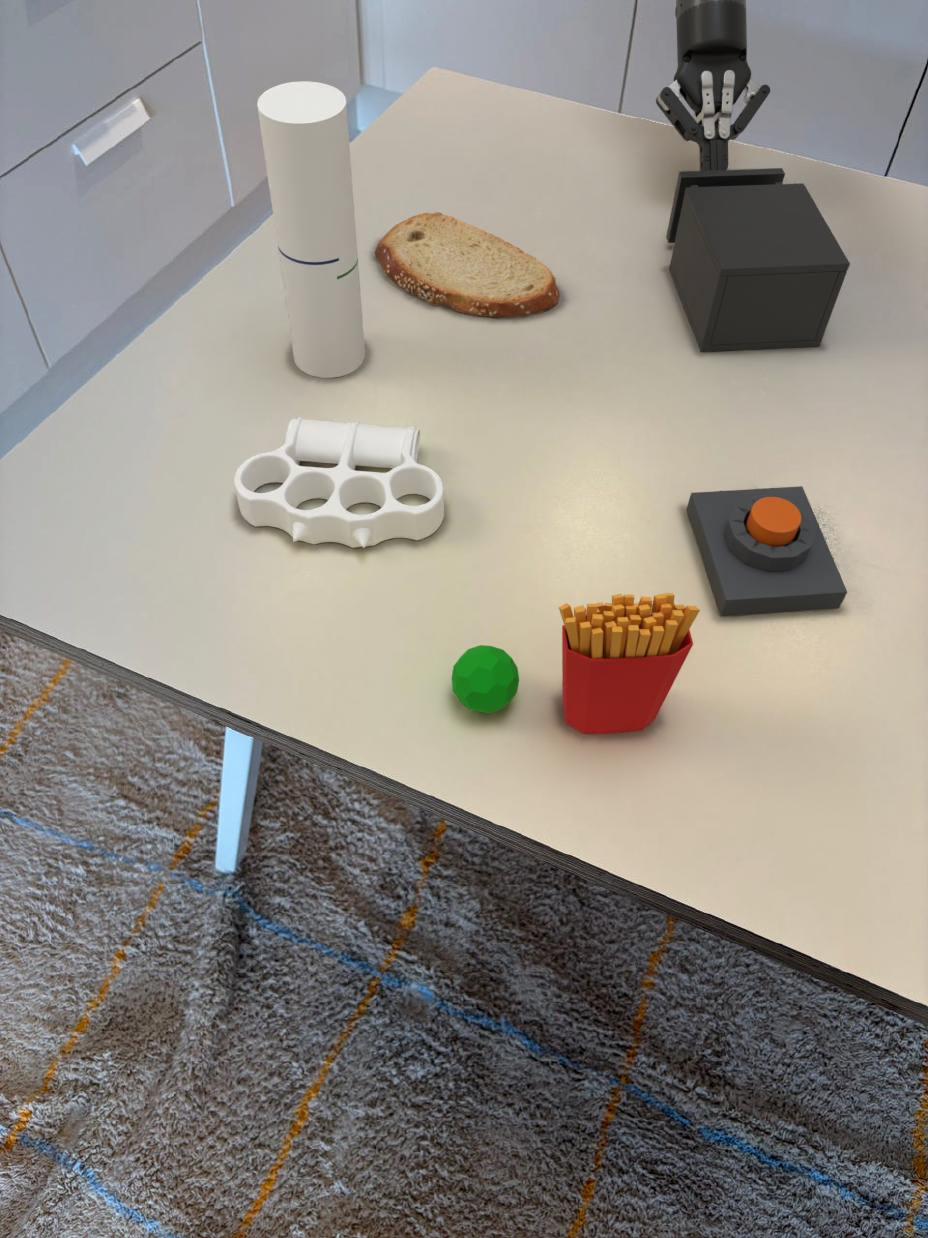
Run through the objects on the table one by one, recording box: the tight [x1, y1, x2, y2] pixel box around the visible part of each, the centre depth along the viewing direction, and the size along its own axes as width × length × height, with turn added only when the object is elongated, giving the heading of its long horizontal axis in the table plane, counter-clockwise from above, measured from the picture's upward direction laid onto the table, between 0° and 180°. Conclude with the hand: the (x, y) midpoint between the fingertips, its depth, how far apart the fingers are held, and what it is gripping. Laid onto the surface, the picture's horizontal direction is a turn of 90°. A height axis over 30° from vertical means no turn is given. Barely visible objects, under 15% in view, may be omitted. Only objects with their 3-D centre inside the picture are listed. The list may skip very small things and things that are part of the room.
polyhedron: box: [451, 644, 520, 714], centre depth 74 cm, size 5×5×5 cm
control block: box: [686, 485, 848, 617], centre depth 83 cm, size 12×10×4 cm
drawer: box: [665, 167, 786, 244], centre depth 107 cm, size 18×11×8 cm, turn 6°
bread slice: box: [374, 211, 561, 319], centre depth 108 cm, size 18×18×4 cm
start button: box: [747, 497, 801, 546], centre depth 81 cm, size 4×4×2 cm
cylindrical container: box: [256, 80, 366, 379], centre depth 90 cm, size 7×7×25 cm
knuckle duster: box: [233, 416, 445, 549], centre depth 87 cm, size 3×18×15 cm
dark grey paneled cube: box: [668, 183, 851, 353], centre depth 103 cm, size 15×13×10 cm
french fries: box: [558, 592, 701, 735], centre depth 70 cm, size 9×4×13 cm, turn 94°
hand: (714, 177), depth 112 cm, fingers closed
